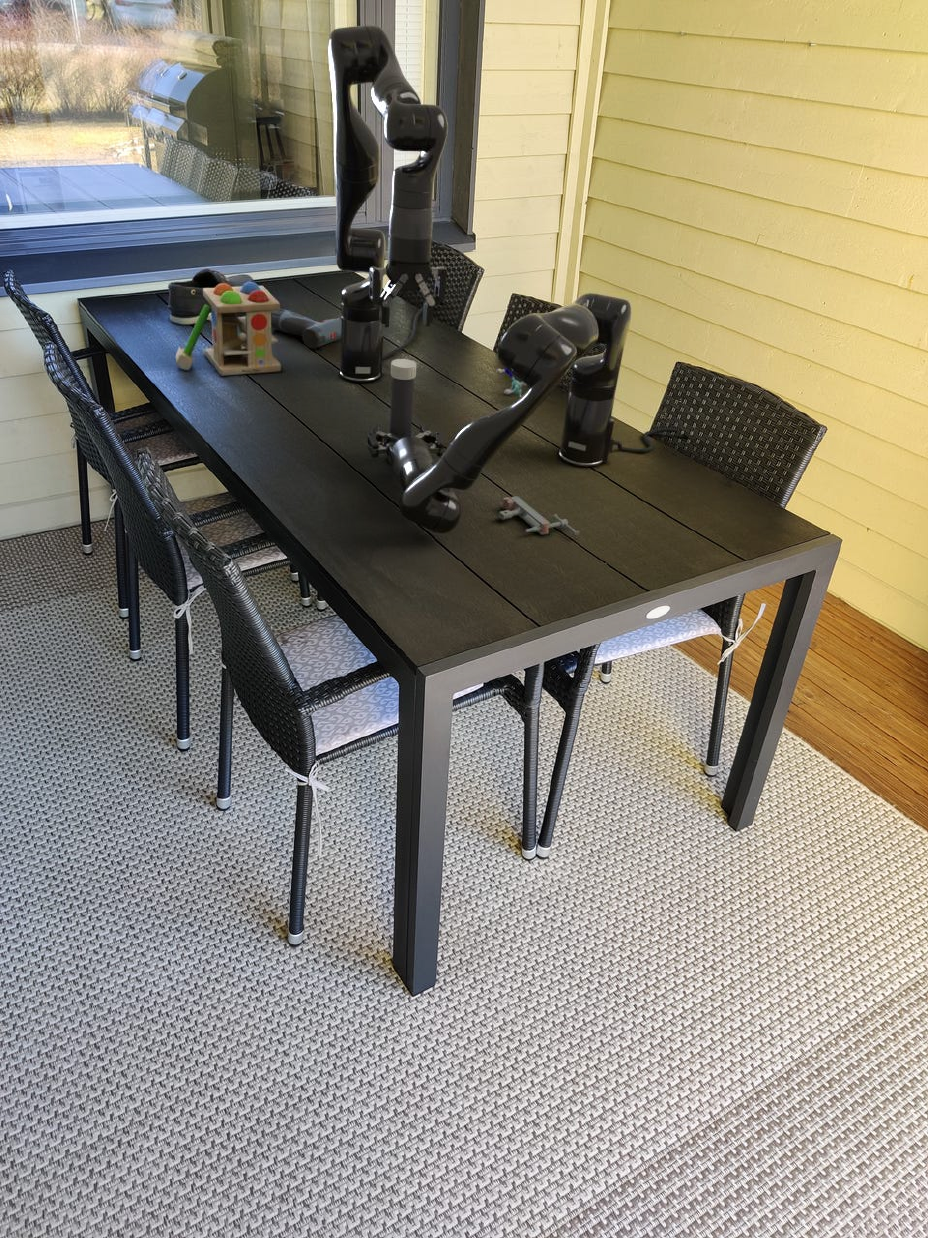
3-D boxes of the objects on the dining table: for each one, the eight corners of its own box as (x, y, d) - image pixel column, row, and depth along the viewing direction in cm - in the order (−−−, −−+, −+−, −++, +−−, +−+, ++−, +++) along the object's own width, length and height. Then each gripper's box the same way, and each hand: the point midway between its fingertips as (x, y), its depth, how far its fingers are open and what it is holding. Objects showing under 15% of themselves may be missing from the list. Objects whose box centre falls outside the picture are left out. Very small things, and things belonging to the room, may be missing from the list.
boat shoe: (275, 303, 273) (273, 264, 267) (188, 326, 249) (184, 284, 244) (241, 294, 279) (238, 256, 273) (152, 317, 255) (147, 276, 249)
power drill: (305, 316, 264) (364, 334, 256) (257, 332, 251) (318, 351, 243) (305, 296, 261) (365, 314, 253) (257, 311, 248) (318, 330, 240)
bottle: (386, 456, 197) (390, 361, 186) (407, 455, 198) (412, 361, 187) (390, 465, 193) (395, 369, 182) (411, 464, 194) (417, 369, 183)
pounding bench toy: (183, 379, 220) (176, 299, 210) (169, 357, 231) (162, 280, 221) (282, 371, 230) (280, 294, 220) (264, 350, 240) (262, 276, 230)
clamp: (489, 500, 180) (534, 491, 184) (488, 510, 181) (533, 501, 185) (534, 538, 169) (581, 528, 174) (532, 549, 170) (579, 539, 175)
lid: (388, 370, 187) (388, 358, 186) (413, 370, 188) (413, 358, 187) (393, 380, 183) (393, 367, 182) (418, 379, 184) (419, 367, 183)
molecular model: (542, 396, 221) (528, 352, 219) (504, 410, 224) (490, 367, 223) (554, 394, 231) (541, 353, 230) (517, 407, 235) (504, 367, 233)
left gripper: (442, 226, 176) (436, 318, 185) (365, 226, 172) (362, 319, 181) (456, 237, 170) (449, 331, 180) (376, 237, 166) (373, 333, 175)
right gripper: (453, 445, 179) (436, 410, 192) (376, 446, 176) (364, 410, 189) (450, 482, 183) (434, 445, 196) (374, 484, 180) (363, 446, 193)
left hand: (405, 325), depth 180 cm, fingers open, 7 cm apart
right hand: (399, 428), depth 193 cm, fingers open, 8 cm apart
